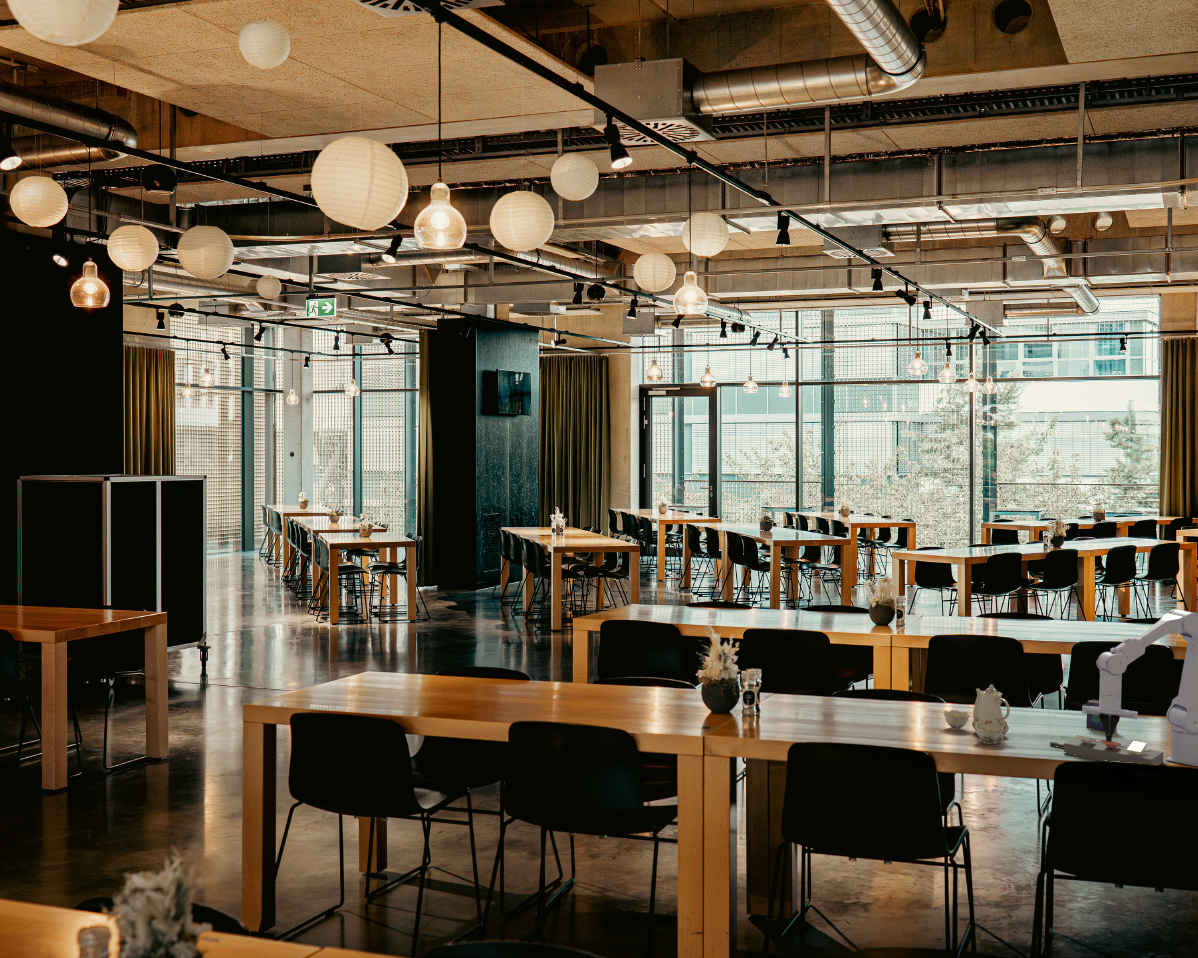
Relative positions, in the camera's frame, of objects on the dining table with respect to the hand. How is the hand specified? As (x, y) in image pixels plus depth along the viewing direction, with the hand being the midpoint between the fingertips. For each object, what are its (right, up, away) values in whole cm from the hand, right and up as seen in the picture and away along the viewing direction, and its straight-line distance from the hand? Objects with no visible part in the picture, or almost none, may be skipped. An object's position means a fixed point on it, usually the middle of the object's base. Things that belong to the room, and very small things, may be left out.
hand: (1108, 740), depth 313 cm
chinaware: (-28, -5, +27) cm, 39 cm away
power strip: (+1, -6, +5) cm, 8 cm away
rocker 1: (-4, -2, +6) cm, 8 cm away
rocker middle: (+1, -2, +1) cm, 3 cm away
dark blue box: (+15, -6, +38) cm, 41 cm away
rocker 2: (+7, -2, -3) cm, 8 cm away
